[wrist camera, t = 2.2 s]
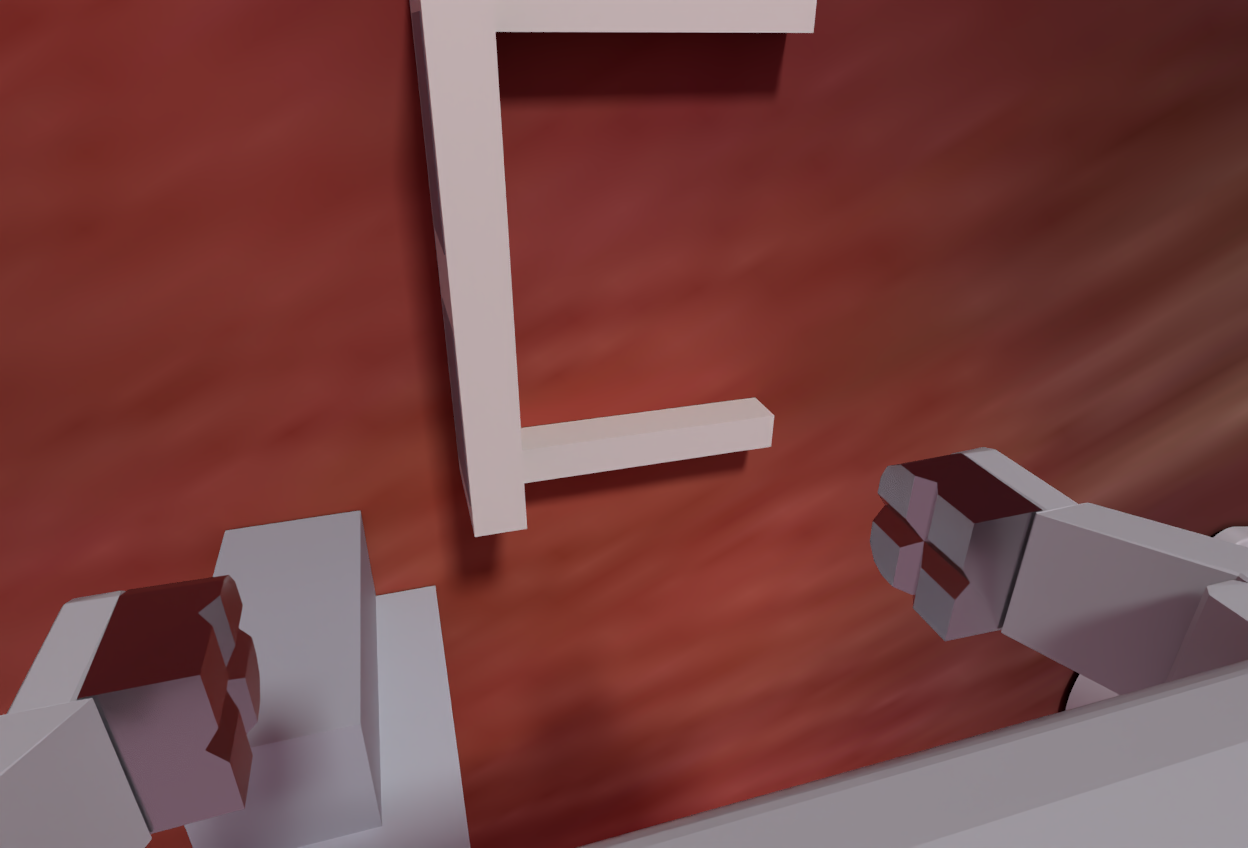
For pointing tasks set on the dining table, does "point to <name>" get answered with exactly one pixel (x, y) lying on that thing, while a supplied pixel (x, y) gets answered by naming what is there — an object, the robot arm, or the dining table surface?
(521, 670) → the dining table surface
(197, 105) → the dining table surface
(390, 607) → the white block with peg
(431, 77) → the white u-shaped bracket
